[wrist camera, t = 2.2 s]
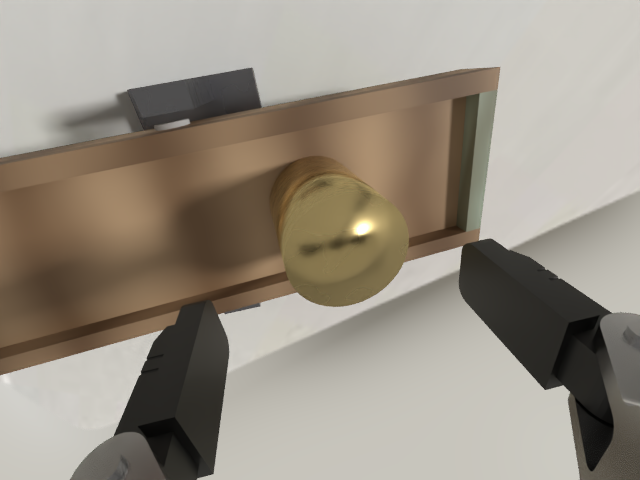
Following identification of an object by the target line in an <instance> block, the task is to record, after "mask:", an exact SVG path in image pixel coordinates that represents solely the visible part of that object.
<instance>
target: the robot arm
mask: <svg viewBox="0 0 640 480" xmlns="http://www.w3.org/2000/svg"><path fill="white" fill-rule="evenodd" d="M459 289H460V292H461V295H462V297H463V299H464V300H465V301H466V303H467V304H468V305H469V306H470V307H471V308H472V309H473V310H474V311H475V313H476V314H477V315H478V316H479V317H480V318H481V319H482V320H483V321H484V323H485V324H486V325H487V326H488V327H489V328H490V329H491V330H492V331H493V333H494V334H495V335H496V336H497V337H498V338H499V339H500V340H501V342H502V343H503V344H504V345H505V346H506V347H507V348H508V349H509V350H510V351H511V353H512V354H513V355H514V356H515V357H516V358H517V359H518V360H519V362H520V363H521V364H522V365H523V366H524V367H525V368H526V369H527V370H528V372H529V373H530V374H531V375H532V376H533V377H534V378H535V379H536V380H537V382H538V383H539V384H540V385H541V386H542V387H543V388H544V389H545V390H547V389H551V388H554V387H559V386H562V385H564V386H565V387H566V388H567V389H568V390H569V391H570V394H569V397H568V405H569V410H570V417H571V424H572V430H573V436H574V443H575V449H576V455H577V461H578V468H579V474H580V480H640V315H638V314H632V313H611V312H610V311H608V310H606V309H605V308H604V307H602V306H601V305H599V304H598V303H596V302H595V301H593V300H592V299H590V298H589V297H587V296H586V295H585V294H583V293H582V292H580V291H579V290H577V289H576V288H574V287H573V286H571V285H570V284H568V283H567V282H565V281H564V280H562V279H558V276H556V275H555V274H553V273H552V272H550V271H549V270H545V268H544V267H543V266H542V265H540V264H539V263H537V262H536V261H534V260H533V259H531V258H530V257H527V256H525V255H522V254H519V253H517V252H514V251H511V250H510V251H509V250H507V249H506V248H504V247H503V246H502V245H500V244H499V243H497V242H496V241H494V240H493V239H485V240H480V241H476V242H471V243H467V244H465V245H464V246H463V248H462V255H461V265H460V275H459ZM228 359H229V344H228V339H227V336H226V333H225V331H224V328H223V326H222V324H221V321H220V319H219V317H218V314H217V312H216V310H215V307H214V305H213V303H212V302H211V300H204V301H199V302H195V303H190V304H186V305H183V306H182V307H181V309H180V312H179V314H178V317H177V320H176V323H175V325H171V326H167V327H166V328H165V329H164V330H163V331H162V333H161V334H160V335H159V336H158V337H157V338H156V340H155V341H154V342H153V345H152V347H151V349H150V352H149V354H148V356H147V361H145V363H144V366H143V368H142V371H141V375H140V376H139V378H138V380H137V382H136V385H135V387H134V389H133V392H132V394H131V396H130V399H129V401H128V403H127V406H126V408H125V411H124V413H123V415H122V418H121V420H120V422H119V425H118V427H117V429H116V432H115V434H114V436H113V437H112V438H110V439H108V440H106V441H105V442H104V443H102V444H100V445H99V446H98V447H97V448H95V449H94V450H93V451H92V452H91V453H90V454H89V455H88V456H87V457H86V458H85V459H84V460H83V461H82V462H81V464H80V465H79V466H78V468H77V469H76V470H75V472H74V474H73V475H72V477H71V479H70V480H197V478H200V477H204V476H208V475H211V474H213V473H214V465H215V457H216V450H217V442H218V434H219V427H220V420H221V412H222V404H223V397H224V389H225V382H226V374H227V367H228Z"/></svg>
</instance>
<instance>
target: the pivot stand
mask: <svg viewBox="0 0 640 480" xmlns="http://www.w3.org/2000/svg"><path fill="white" fill-rule="evenodd" d="M127 91H128V93H129V96H130V98H131V100H132V103H133V105H134V107H135V110H136V112H137V114H138V117H139V119H140V121H141V124H142V126H143V129H144V130H149V129H154V125H157V124H161V123H165V122H169V121H174V120H180V119H189V120H190V121H196V120H201V119H206V118H211V117H216V116H222V115H227V114H232V113H237V112H242V111H248V110H253V109H258V108H262V106H261V101H260V97H259V93H258V88H257V84H256V80H255V75H254V71H253V68H248V69H242V70H236V71H231V72H225V73H219V74H214V75H208V76H202V77H197V78H191V79H186V80H180V81H174V82H169V83H163V84H157V85H152V86H146V87H140V88H135V89H129V90H127ZM259 306H260V303H257V304H253V305H249V306H246V307H242V308H239V309H235V310H232V311H228V312H224V313H225V314H227V313H232V312H236V311H241V310H246V309H250V308H255V307H259Z"/></svg>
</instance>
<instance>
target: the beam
mask: <svg viewBox="0 0 640 480" xmlns="http://www.w3.org/2000/svg"><path fill="white" fill-rule="evenodd" d="M499 73H500V67H493V68H476V69H460V70H455V71H450V72H445V73H439V74H434V75H429V76H424V77H419V78H414V79H408V80H403V81H398V82H393V83H388V84H382V85H377V86H372V87H367V88H362V89H356V90H351V91H346V92H341V93H336V94H331V95H325V96H320V97H315V98H310V99H305V100H299V101H294V102H289V103H284V104H279V105H273V106H268V107H263V108H258V109H253V110H248V111H242V112H237V113H232V114H227V115H222V116H216V117H211V118H206V119H201V120H196V121H190V120H189V119H180V120H174V121H169V122H165V123H161V124H157V125H154V129H149V130H144V131H139V132H133V133H128V134H123V135H118V136H113V137H107V138H102V139H97V140H92V141H87V142H82V143H76V144H71V145H66V146H61V147H56V148H50V149H45V150H40V151H35V152H30V153H24V154H19V155H14V156H9V157H4V158H0V375H3V374H6V373H10V372H13V371H17V370H21V369H24V368H28V367H31V366H35V365H39V364H42V363H46V362H49V361H53V360H56V359H60V358H64V357H67V356H71V355H74V354H78V353H81V352H85V351H89V350H92V349H96V348H99V347H103V346H106V345H110V344H114V343H117V342H121V341H124V340H128V339H131V338H135V337H139V336H142V335H146V334H149V333H153V332H156V331H160V330H164V329H165V328H166V327H167V326H171V325H175V323H176V320H177V317H178V314H179V312H180V309H181V307H182V306H183V305H186V304H190V303H195V302H199V301H204V300H211V302H212V303H213V305H214V307H215V310H216V312H217V314H221V313H224V312H228V311H232V310H235V309H239V308H242V307H246V306H249V305H253V304H257V303H260V302H264V301H267V300H271V299H274V298H278V297H282V296H285V295H289V294H292V293H296V292H297V291H296V290H295V289H294V288H293V286H292V285H291V283H290V281H289V280H288V277H287V274H286V271H285V267H284V263H283V259H282V255H281V251H280V247H279V243H278V239H277V235H276V231H275V228H274V224H273V220H272V216H271V211H270V205H269V199H270V192H271V189H272V186H273V183H274V182H275V180H276V178H277V177H278V175H279V174H280V173H281V172H282V171H283V170H284V169H285V168H286V167H287V166H288V165H290V164H291V163H293V162H294V161H297V160H299V159H301V158H305V157H309V156H324V157H328V158H332V159H334V160H336V161H338V162H340V163H341V164H342V165H344V166H345V167H346V168H348V169H349V170H350V171H351V172H353V173H354V174H355V175H356V176H358V177H359V178H360V179H361V180H363V181H364V182H365V183H367V184H368V185H369V186H370V187H372V188H373V189H374V190H375V191H377V192H378V193H379V194H381V195H382V196H383V197H384V198H386V199H387V200H388V201H389V202H391V203H392V204H393V205H394V206H395V207H396V208H397V209H398V210H399V211H400V212H401V214H402V216H403V217H404V219H405V222H406V224H407V228H408V233H409V246H408V251H407V255H406V258H405V261H404V262H407V261H410V260H414V259H417V258H421V257H425V256H428V255H432V254H435V253H439V252H443V251H446V250H450V249H453V248H457V247H460V246H464V245H465V244H467V243H471V242H476V241H479V233H480V225H481V217H482V209H483V201H484V193H485V185H486V177H487V169H488V161H489V153H490V145H491V137H492V129H493V121H494V113H495V105H496V97H497V89H498V81H499Z"/></svg>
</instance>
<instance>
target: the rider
mask: <svg viewBox="0 0 640 480" xmlns="http://www.w3.org/2000/svg"><path fill="white" fill-rule="evenodd" d="M269 205H270V211H271V216H272V220H273V224H274V228H275V231H276V235H277V239H278V243H279V247H280V251H281V255H282V259H283V263H284V267H285V271H286V274H287V277H288V280H289V281H290V283H291V285H292V286H293V288H294V289H295V290H296V291H297V292H298V293H299V294H300V295H301V296H303V297H304V298H305V299H307V300H309V301H311V302H313V303H316V304H319V305H324V306H332V307H340V306H348V305H352V304H356V303H359V302H362V301H364V300H366V299H368V298H370V297H372V296H374V295H376V294H377V293H378V292H380V291H381V290H383V289H384V288H385V287H386V286H387V285H388V284H389V283H390V282H391V281H392V280H393V279H394V277H395V276H396V275H397V274H398V272H399V270H400V269H401V267H402V265H403V263H404V261H405V258H406V255H407V251H408V246H409V233H408V228H407V224H406V222H405V219H404V217H403V216H402V214H401V212H400V211H399V210H398V209H397V208H396V207H395V206H394V205H393V204H392V203H391V202H389V201H388V200H387V199H386V198H384V197H383V196H382V195H381V194H379V193H378V192H377V191H375V190H374V189H373V188H372V187H370V186H369V185H368V184H367V183H365V182H364V181H363V180H361V179H360V178H359V177H358V176H356V175H355V174H354V173H353V172H351V171H350V170H349V169H348V168H346V167H345V166H344V165H342V164H341V163H340V162H338V161H336V160H334V159H332V158H328V157H324V156H309V157H305V158H301V159H299V160H297V161H294V162H293V163H291V164H290V165H288V166H287V167H286V168H285V169H284V170H283V171H282V172H281V173H280V174H279V175H278V177H277V178H276V180H275V182H274V183H273V186H272V189H271V192H270V199H269Z"/></svg>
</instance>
